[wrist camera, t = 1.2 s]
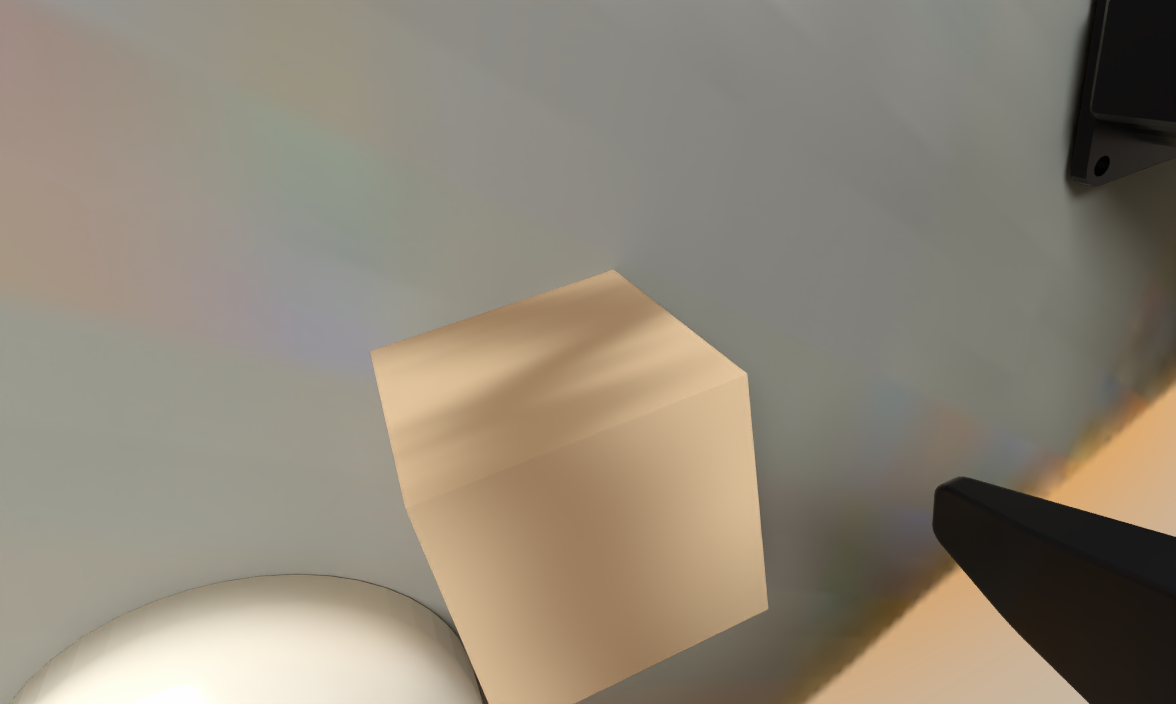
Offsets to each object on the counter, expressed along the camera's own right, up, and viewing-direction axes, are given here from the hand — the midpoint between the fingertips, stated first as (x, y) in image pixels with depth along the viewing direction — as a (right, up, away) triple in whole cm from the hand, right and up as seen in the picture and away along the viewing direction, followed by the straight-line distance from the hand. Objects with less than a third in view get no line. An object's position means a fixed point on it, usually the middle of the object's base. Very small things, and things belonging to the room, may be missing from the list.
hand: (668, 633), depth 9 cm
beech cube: (-2, +2, +5) cm, 7 cm away
